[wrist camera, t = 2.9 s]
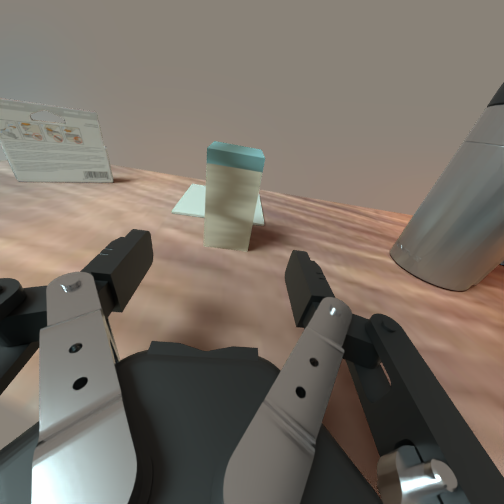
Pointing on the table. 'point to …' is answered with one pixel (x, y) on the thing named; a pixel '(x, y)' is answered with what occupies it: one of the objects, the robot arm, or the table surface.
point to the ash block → (231, 194)
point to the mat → (195, 204)
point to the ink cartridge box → (53, 144)
